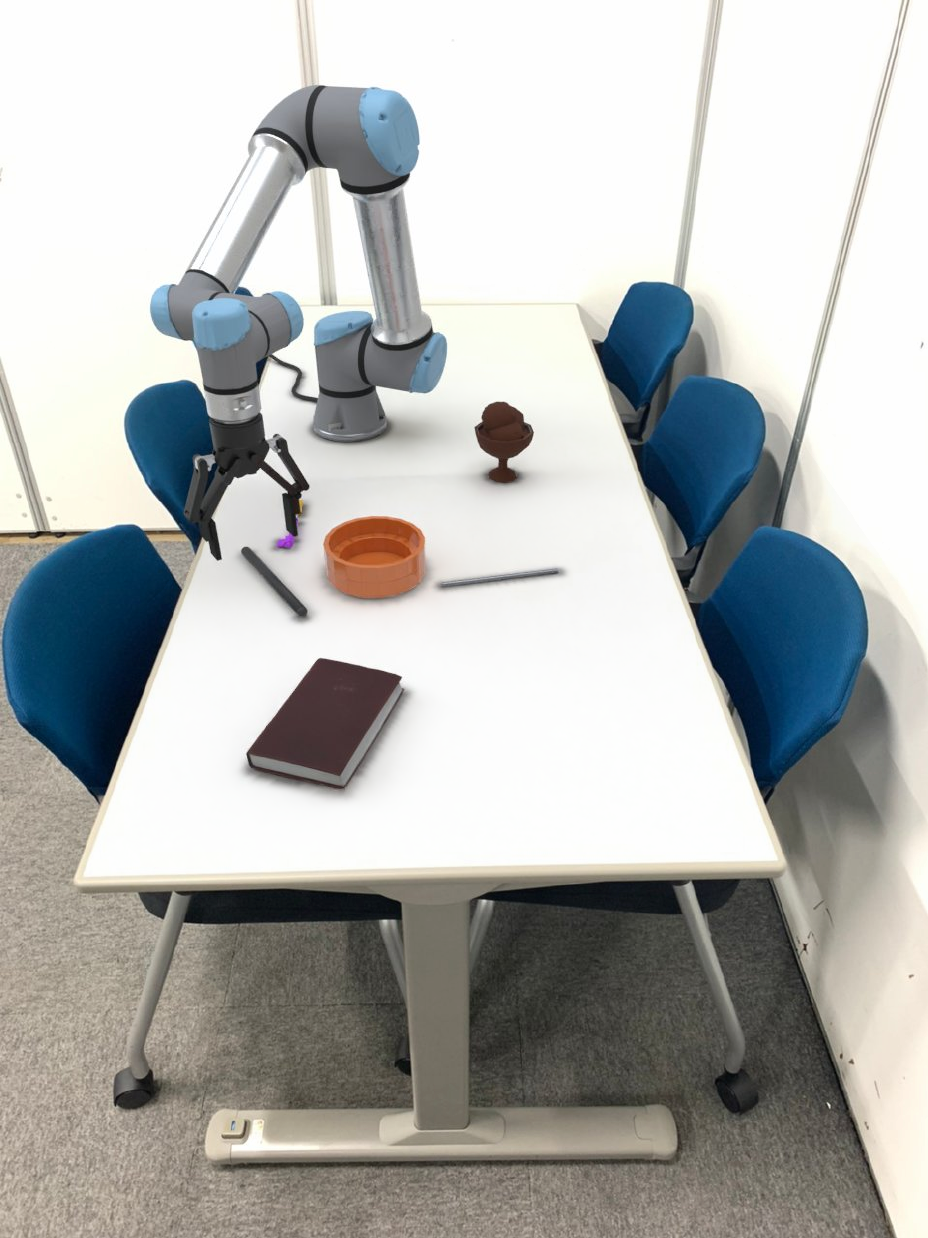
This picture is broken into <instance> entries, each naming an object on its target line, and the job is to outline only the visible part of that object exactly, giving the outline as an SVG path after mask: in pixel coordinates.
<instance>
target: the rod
mask: <svg viewBox="0 0 928 1238" xmlns="http://www.w3.org/2000/svg"><path fill="white" fill-rule="evenodd" d="M558 573H559V569H558V568H550V569H549V568H547V569H541V570H534V571H524V572H517V573H508V574H500V575H493V576H492V575H491V576H483V577H475V578H468V579H467V578H466V579H459V580H452V581H443V582H441V584H440V586H441V587H442V588H445V587H454V586H455V587H456V586H462V585H469V584H477V583H485V582H494V581H503V580H509V579H510V580H511V579H519V578H527V577H535V576H536V577H537V576H543V575H551V574H552V575H553V574H558Z"/></svg>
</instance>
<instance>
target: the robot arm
mask: <svg viewBox="0 0 928 1238" xmlns="http://www.w3.org/2000/svg"><path fill="white" fill-rule="evenodd" d="M420 143H421V139H420V131H419V125H418V120H417V117H416V114H415V111H414V109H413V107H412V105H411V104H410V102H409V100H408V99H407V98H406V97H404V96H403V94H401V93H400V92H398V91H397V90H391V89H383V88H381V87H377V86H370V87H357V86H353V87H352V86H334V85H330V86H329V85H323V84H314V85H308V86H304V87H301V88H299V89H297V90H296V91H293V92H291V93H290V94H288V95H287V96H286V97H284V98H282V100H281V101H279V102H278V103H277V104H276V105H275V106H274V107H273V108H272V109H271V110H269V112H267V114H266V115H265V116H264V118H263V119H262V120H261V121H260V123H259V125H258V126H257V127H256V129H255V130H254V132H253V134H252V136H251V137H250V139H249V141H248V144H247V152H248V155H249V156H248V157H247V159H246V161H245V163H244V165H243V166H242V168H241V170H240V172H239V174H238V175H237V177H236V179H235V182H234V183H233V185H232V186H231V188H230V190H229V192H228V194H227V196H226V197H225V199H224V201H223V203H222V205H221V206H220V209H219V210H218V212H217V213H216V216H215V217H214V219H213V221H212V223H211V225H210V226H209V228H208V230H207V232H206V234H205V235H204V237H203V239H202V241H201V243H200V245H199V246H198V248H197V250H196V252H195V254H194V255H193V258H192V259H191V261H190V263H189V264H188V266H187V268H186V270H185V272H184V274H183V276H182V278H181V279H180V280H179V283H178V284H176V283H170V284H163V285H161V286H159V287H158V288H156V289H155V291H154V292H153V294H152V295H151V299H150V302H149V303H150V304H149V314H150V318H151V322H152V324H153V325H154V326H155V328H156V330H157V331H158V332H159V333H161V334H162V335H163V336H167V337H170V338H174V339H178V340H181V341H184V342H185V341H186V342H187V341H191V342H194V343H195V347H196V352H197V353H196V354H197V357H198V362H199V368H200V373H201V378H202V386H203V392H204V400H205V405H206V412H207V415H208V416H209V419H208V424H209V428H210V435H211V440H212V446H213V449H212V453H211V454H206V455H201V454H199V453H196V454H194V455H192V463H193V472H192V477H191V481H190V485H189V489H188V493H187V496H186V497H187V498H186V501H185V506H184V510H183V516H184V517H185V519H186V520H187V521H188V522H189V523H190V524H196V523H197V524H198V527H199V528H198V529H199V533H200V536H201V538H202V539H203V540H204V541H205V542H206V543H207V542H208V546H209V553H210V554H211V556H212V557H213V558H214V559H215V560H216V561H221V560H223V557H222V551H221V546H220V540H219V534H218V529H217V523H216V521H215V520H214V519H213V516H214V514H215V511H216V510H217V508H218V506H219V504H220V502H221V500H222V498H223V496H224V495H225V492H226V490H227V489H228V487H229V486H231V485H232V483H233V481H234V479H235V478H236V479H240V478H244V477H246V476H247V475H248V476H249V475H255V474H257V472H258V471H260V470H262V471H263V472H264V473H265V474H266V475H268V476H269V477H270V478H271V479H272V480H273V481H275V483H277V484H278V485H279V486H280V487H281V488H283V489H284V491H286V492H283V493H281V499H282V507H283V514H284V522H285V530H286V531H287V532H288V534H289V533H290V534H291V535H292V536H293V537H294V538H295V537H298V536H299V532H298V531H299V530H298V525H297V522H296V514H300V503H299V500H301V499H302V497H303V494H302V492H304V491H305V492H306V491H309V490H310V488H311V487H310V484H309V482H308V481H307V479H306V478H305V476H304V474H303V473H302V471H301V469H300V467H299V466H298V465H297V463H296V461H295V460H294V458H293V456H292V454H291V453H290V451H289V446H288V441H287V440H286V439H285V437H283V436H281V435H280V434H279V433H274V435H272V438H269V439H266V431H265V424H264V416H263V413H262V412H261V410H262V403H261V394H260V387H259V379H258V373H257V363H258V362H260V361H262V360H264V359H265V358H267V357H269V358H271V359H272V360H273V361H274V362H276V363H278V364H280V365H281V366H284V367H288V368H289V369H293V370H295V371H296V372H297V376H296V378H295V381H294V383H293V385H292V386H291V393H292V395H293V396H294V397H296V398H299V399H301V400H304V401H305V400H306V401H311V402H315V403H316V406H315V409H314V414H313V420H312V424H313V431H314V432H315V434H316V435H317V436H319V437H321V438H323V439H326V440H329V441H334V442H343V443H345V442H346V443H351V442H352V443H353V442H361V441H366V440H370V439H373V438H375V437H378V436H380V435H381V434H383V433H384V432H385V431H386V430H387V425H388V424H387V423H388V422H387V421H388V420H387V415H386V412H385V409H384V407H383V404H382V401H381V399H380V397H379V394H378V391H377V387H379V388H385V389H390V390H397V391H403V392H408V393H409V394H413V393H415V394H416V393H417V394H429V393H430V392H432V391H433V390H435V388H436V387H437V385H438V384H439V382H440V380H441V378H442V375H443V373H444V370H445V367H446V362H447V357H448V356H447V355H448V342H447V338H446V336H445V335H444V334H443V333H441V332H440V331H436V332H435V331H434V329H433V322H432V318H431V316H430V315H429V314H428V313H426V312H425V311H423V309H422V303H421V296H420V289H419V284H418V283H419V282H418V277H417V270H416V264H415V263H416V262H415V257H414V251H413V243H412V237H411V230H410V224H409V218H408V217H409V216H408V212H407V211H408V210H407V205H406V198H405V191H404V187H405V186H406V185H407V184H408V182H409V181H410V179H411V172H412V171H413V170H414V169H415V167H416V166H417V164H418V163H417V162H418V160H419V156H420V155H419V154H420V150H419V146H420ZM316 168H322V169H323V168H324V169H331V170H336V171H337V174H338V179H339V183H340V188H341V190H343V191H344V192H345V193H347V194H348V195H349V196H351V197H352V201H353V206H354V207H353V208H354V211H355V216H356V221H357V226H358V232H359V236H360V237H359V238H360V242H361V247H362V252H363V253H362V254H363V258H364V263H365V267H366V272H367V278H368V282H369V287H370V292H371V296H372V297H371V298H372V303H373V308H374V312H375V317H376V318H375V319H374V317H373V315H372V314H371V313H370V312H369V311H365V310H348V311H342V312H337V313H333V314H330V315H327V316H324V317H321V318H320V319H319V320H318V321H317V322H316V323H315V324H314V327H313V334H314V335H313V346H314V353H315V361H316V363H315V364H316V373H317V382H318V397H315V396H309V395H305V394H301V393H298V392H297V391H296V390H297V388H298V387H299V384H300V380H301V378H302V376H303V372H302V370H301V368H300V367H298V366H296V365H295V364H292V363H289V362H286V361H283V360H281V359H280V358H278V357H277V356H276V355H274V354H275V353H276V352H278V351H280V350H282V349H284V348H287V347H288V346H289V345H291V343H293V342H294V341H295V340H296V339H298V338H299V337H300V336H301V334H302V332H303V329H304V325H305V324H304V322H305V321H304V320H305V319H304V314H303V310H302V308H301V306H300V305H299V303H298V302H297V300H296V299H295V298H294V297H293V296H291V295H290V294H288V293H286V292H285V291H279V290H276V291H271V292H265V293H263V294H262V295H261V296H253V295H252V296H251V295H244V294H239V293H238V294H237V293H236V292H237V290H238V288H239V286H240V284H241V282H242V280H243V279H244V277H245V275H246V273H247V271H248V269H249V267H250V265H251V264H252V262H253V260H254V258H255V257H256V254H257V253H258V250H259V248H260V247H261V244H262V243H263V241H264V240H265V237H266V235H267V233H268V231H269V229H270V228H271V226H272V224H273V223H274V220H275V218H276V217H277V215H278V213H279V211H280V209H281V207H282V205H283V204H284V201H285V199H286V198H287V195H288V194H289V192H290V190H291V188H292V187H293V186H297V185H299V184H301V183H302V181H303V180H304V178H305V176H306V174H307V173H308V171H311V170H313V169H316ZM270 449H271V450H272V451H273V452H274V453H276V454H277V456H278V457H279V459H280V460H281V462H282V464H283V465H284V466H285V468H286V470H287V472H288V473H289V475H290V476H291V478H292V479H293V481H294V482H293V483H292V484H291V483H290V482H289V481H288V480H287V479H286V478H285V477H283V476H282V475H281V474H280V473H279V472H278V471H277V470H275V469H274V467H272V466H271V465H270V464H268V463H267V461H266V460H265V459H266V458H267V456H268V453H269V452H270ZM213 464H216V465H217V468H216V470H215V471H214V477H213V478H212V481H211V483H210V485H209V487H208V488H207V484H208V479H209V472H210V471H212V466H213ZM206 488H207V491H206ZM205 491H206V493H205ZM300 515H301V514H300Z"/></svg>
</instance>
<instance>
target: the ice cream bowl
mask: <svg viewBox="0 0 928 1238" xmlns="http://www.w3.org/2000/svg"><path fill="white" fill-rule="evenodd" d="M473 428H474V433H475V437H476V440H477V443H478V446H479V448H480V449H481V450H482V451H483V452H484V453H486V454H487V455H489V456H491V457H493V458H495V459H497V461H498V462H497V463H498V464H497V466H496V467H494V468H492V469H491V470H490V471H488V474H487V476H488V479H489V480H491V481H493V482H494V483H501V484H506V483H510V482H514V481H515V480H516V479H517V478H518V476H517V473H516V470H514V469H511V468H510V467H508V461H509V459H513V458H515V457H517V456H519V455H520V454H521V453H522V452H523V451H524V450H526V449H527V448H528V447H529V446H530V444H531V443H532V441H533V438H534V434H535V431H534V429H533V427H532V424H529V423H527V422H525V416H524V413H522V412H521V411H520V410H519V409H518V408H516V407H515V406H512V405H510V404H509V403H508V402H506V401H499V400H498V401H494V402H491V403H488V404H487V406H485V407H484V410H483V411H482V414H481V422H479V423H478V424H476V425H475V426H474V427H473Z"/></svg>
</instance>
